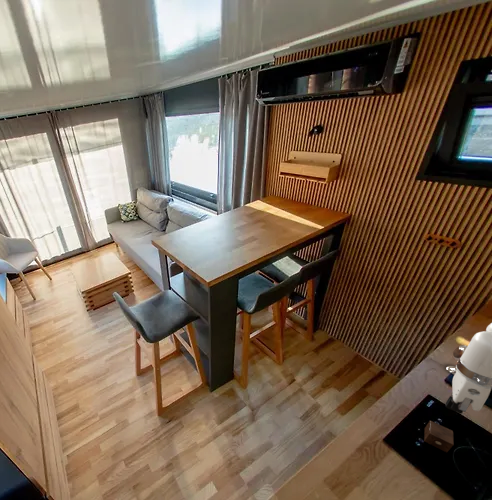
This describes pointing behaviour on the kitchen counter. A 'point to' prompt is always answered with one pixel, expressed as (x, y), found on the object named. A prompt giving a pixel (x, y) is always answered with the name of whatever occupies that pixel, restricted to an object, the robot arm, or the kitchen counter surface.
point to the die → (438, 436)
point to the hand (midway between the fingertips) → (453, 408)
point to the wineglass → (457, 357)
